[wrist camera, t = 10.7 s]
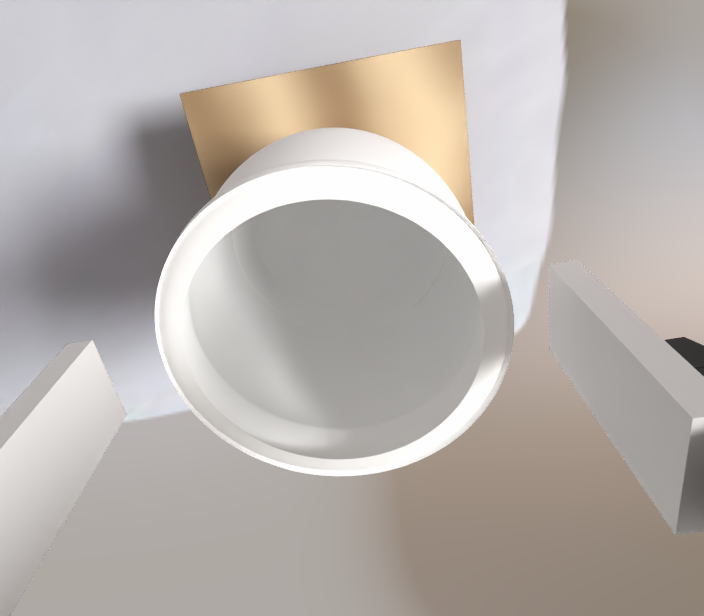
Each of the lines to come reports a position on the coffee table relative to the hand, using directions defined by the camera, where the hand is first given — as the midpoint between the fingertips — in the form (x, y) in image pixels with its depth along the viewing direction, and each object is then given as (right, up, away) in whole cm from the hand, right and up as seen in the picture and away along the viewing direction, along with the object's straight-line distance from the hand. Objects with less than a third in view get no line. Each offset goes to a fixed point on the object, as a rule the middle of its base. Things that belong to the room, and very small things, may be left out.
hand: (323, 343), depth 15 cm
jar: (0, +7, +14) cm, 15 cm away
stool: (0, +10, +20) cm, 22 cm away
